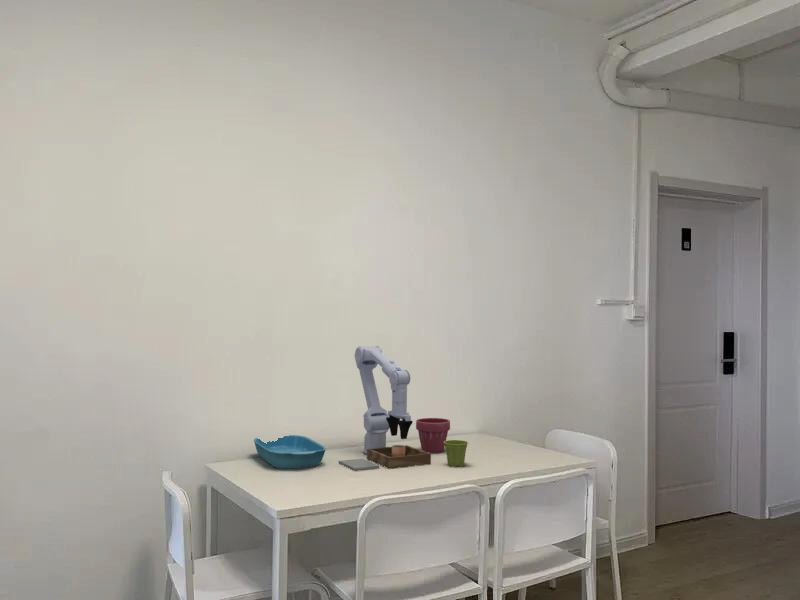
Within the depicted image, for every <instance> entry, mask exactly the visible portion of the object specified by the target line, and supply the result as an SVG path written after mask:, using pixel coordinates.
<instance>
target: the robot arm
mask: <svg viewBox="0 0 800 600" xmlns="http://www.w3.org/2000/svg"><path fill="white" fill-rule="evenodd" d="M382 349H383V348H381V347H380V346H378V345H375V346H357V348H356V349H355V352H354V360H355V364H356V367H357V369H358V370H359V376H360V378H361V379H360V380H361V384H362V388H363V393H364V398H365V403H366V406H367V410H366V411H365V412H364V414H363V428H364V430H365V432H366V433H365V435H364V437H363V438H364V442H363V443H364V448H363V449H364V450H362V451H361V453H363V454H366V455H367V449H373V448H384V447H387V433H388V432H389V431H390V435H391V437H394V436H395V437H396V436H397V435H398V430H399V434H400V435H399V436H400V439H401V440H407V438H408V434H409V431H410V428H411V426H412V425H413V420H412V415H411V414H410V412H407V410H408V409H407V408H408V404H407V403H408V395H407V394H408V385H410V382H411V374H410V372H409V371H408V370H407V369H402V368H401V367H400V366H398V365H397V364H396V363H395V361H394V360H388V359H387V357H386V356H385V355H384V354H383V351H382ZM378 365H379V366H380V367H381V371H382V372H383V374H384V375H385V376H386V377H387V378H388V380H389V384H390V390H391V410H386V409H385V408H384V407H382V406H381V403H380V399H379V393H378V389H377V385H376V381H375V376H374V374H373V370H374V369H375V368H377V366H378Z"/></svg>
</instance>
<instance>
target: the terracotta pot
mask: <svg viewBox="0 0 800 600" xmlns="http://www.w3.org/2000/svg"><path fill="white" fill-rule="evenodd" d="M391 447H392V457H397V456H405V445H404V444H403V445H402V444H393V445H391Z"/></svg>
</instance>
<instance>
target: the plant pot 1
mask: <svg viewBox="0 0 800 600" xmlns="http://www.w3.org/2000/svg"><path fill="white" fill-rule="evenodd" d="M415 429H416V430H417V433H418V437H419V438H418V439H419V442H420V443H419V444H420V447H421V450H422V451H425V452H430V454H439V452H440V453H443V452H444V451H445V448H446V447H445V444H444V441H447V439H448V438H447V437H448V432H449V431H451V420H450V419H447V418H443V417H442V418H440V417H424V418H417V419H416V420H415Z"/></svg>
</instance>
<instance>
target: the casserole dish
mask: <svg viewBox="0 0 800 600" xmlns="http://www.w3.org/2000/svg"><path fill="white" fill-rule="evenodd" d="M288 435H289V436H284V437H283V438H278V440H277V441H275V442H274V441H272V442H270V441H269V442H267V444H266V443H264V442H262V441H261V440H260V439H258V437H256V438H255V437H254V439H253V442H254V446H255V450H256V452H257V454H258V455H259V457H260V458H262V459H263V461H265V462H266V463H268V464H269V465H271V466H272V467H275V468H276V469H279V468H280V469H279V470H294V469H293V468H295V469H304V467H305V468H312V467H317V466H318V465H320V464H321V463H322V460H323V459H324V455H325V453H326V451H327V448H326V446H325V445H322V444H321V443H319V442H317V441H315V440H314V439H312V438H309V437H307V436H305V435H304V436H303V435H298V434H288Z"/></svg>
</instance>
